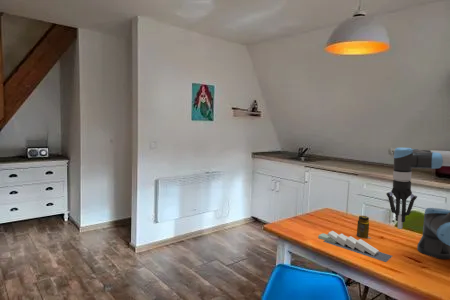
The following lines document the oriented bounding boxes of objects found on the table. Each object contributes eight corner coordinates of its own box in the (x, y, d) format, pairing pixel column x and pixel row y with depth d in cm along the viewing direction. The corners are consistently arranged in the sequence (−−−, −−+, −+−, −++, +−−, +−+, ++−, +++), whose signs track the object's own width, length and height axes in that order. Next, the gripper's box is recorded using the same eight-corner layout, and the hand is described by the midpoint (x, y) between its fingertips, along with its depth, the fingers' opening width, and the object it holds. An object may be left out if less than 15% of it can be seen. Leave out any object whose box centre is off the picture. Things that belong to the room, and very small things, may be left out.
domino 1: (339, 238, 168) (322, 233, 175) (335, 240, 165) (318, 235, 172) (339, 241, 168) (322, 235, 175) (335, 243, 165) (318, 238, 172)
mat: (392, 256, 151) (392, 255, 151) (385, 262, 144) (385, 262, 144) (331, 237, 174) (331, 236, 174) (322, 242, 167) (322, 241, 167)
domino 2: (349, 241, 164) (332, 230, 171) (345, 243, 161) (328, 232, 167) (347, 243, 165) (331, 233, 171) (343, 246, 161) (327, 235, 168)
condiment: (371, 238, 175) (372, 217, 174) (362, 240, 171) (364, 220, 170) (359, 233, 182) (361, 214, 180) (350, 236, 177) (352, 216, 176)
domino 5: (378, 250, 154) (360, 238, 160) (375, 253, 150) (356, 241, 157) (377, 253, 154) (359, 241, 161) (373, 256, 151) (355, 243, 157)
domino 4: (368, 247, 157) (350, 236, 164) (364, 250, 154) (346, 238, 160) (367, 249, 158) (349, 238, 164) (363, 252, 154) (345, 240, 161)
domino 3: (358, 244, 161) (341, 233, 167) (354, 246, 157) (337, 235, 164) (357, 246, 161) (340, 235, 168) (353, 249, 158) (336, 238, 164)
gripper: (419, 180, 144) (417, 229, 147) (389, 177, 153) (387, 223, 156) (415, 182, 139) (413, 233, 141) (384, 179, 148) (383, 227, 150)
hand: (400, 228), depth 148 cm, fingers closed
